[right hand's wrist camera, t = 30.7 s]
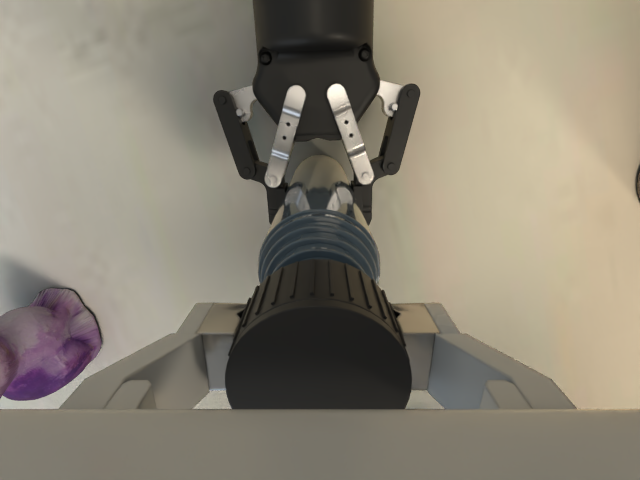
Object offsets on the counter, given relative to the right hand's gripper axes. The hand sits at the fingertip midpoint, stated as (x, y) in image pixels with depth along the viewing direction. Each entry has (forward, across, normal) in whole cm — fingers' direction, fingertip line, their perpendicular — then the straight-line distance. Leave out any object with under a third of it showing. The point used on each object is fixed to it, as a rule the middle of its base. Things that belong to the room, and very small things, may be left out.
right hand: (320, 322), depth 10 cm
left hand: (+16, 0, -3) cm, 17 cm away
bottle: (+23, 0, 0) cm, 23 cm away
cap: (-2, 0, 0) cm, 2 cm away
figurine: (+23, -28, -15) cm, 40 cm away
